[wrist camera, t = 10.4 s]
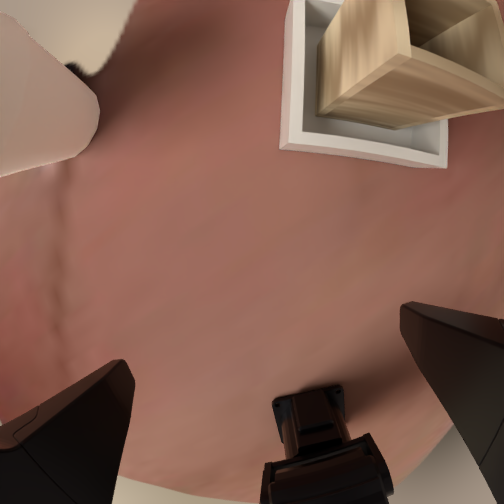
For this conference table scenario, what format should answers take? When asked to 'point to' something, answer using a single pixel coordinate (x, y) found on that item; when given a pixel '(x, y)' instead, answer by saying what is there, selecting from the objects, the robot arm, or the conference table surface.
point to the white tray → (332, 130)
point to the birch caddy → (410, 62)
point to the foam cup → (39, 104)
